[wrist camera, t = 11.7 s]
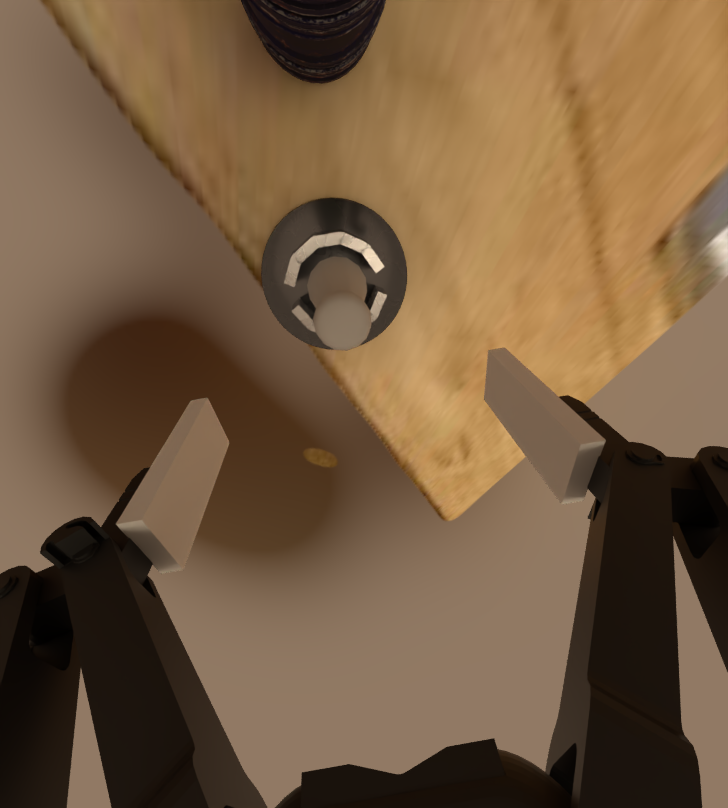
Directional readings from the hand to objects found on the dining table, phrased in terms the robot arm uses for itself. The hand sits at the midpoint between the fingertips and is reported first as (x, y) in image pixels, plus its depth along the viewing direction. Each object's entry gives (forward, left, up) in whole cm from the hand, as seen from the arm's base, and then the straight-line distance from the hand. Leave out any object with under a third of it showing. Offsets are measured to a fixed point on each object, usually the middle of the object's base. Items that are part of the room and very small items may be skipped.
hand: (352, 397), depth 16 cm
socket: (0, 0, -23) cm, 23 cm away
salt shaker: (0, 0, -23) cm, 23 cm away
